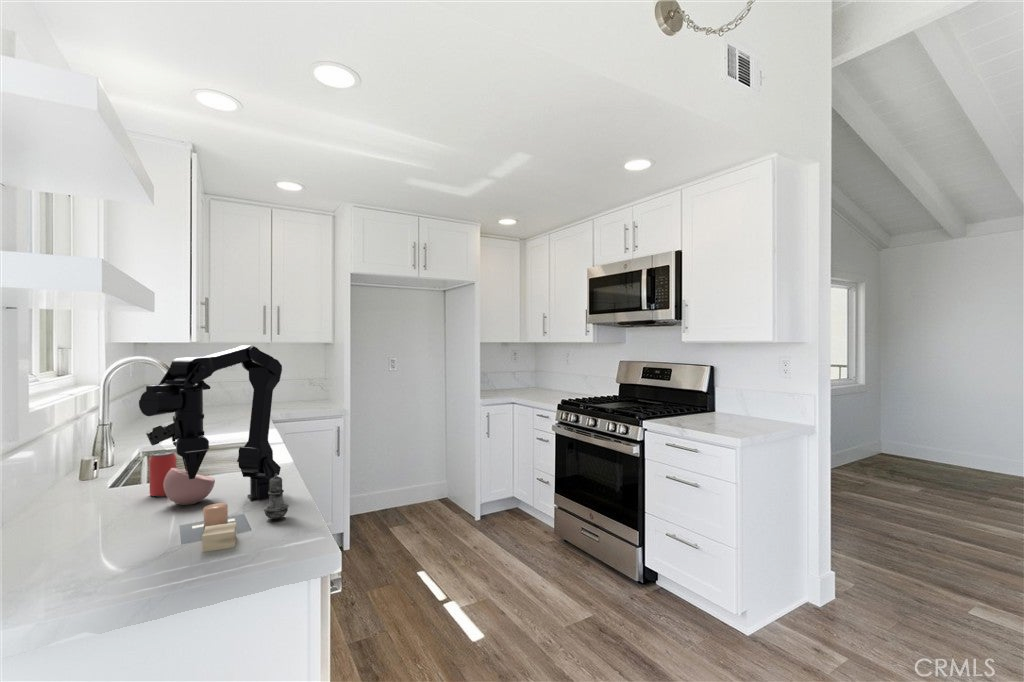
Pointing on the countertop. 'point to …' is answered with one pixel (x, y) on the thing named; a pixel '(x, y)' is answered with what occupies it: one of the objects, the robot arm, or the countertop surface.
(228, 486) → the countertop surface
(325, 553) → the countertop surface
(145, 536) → the countertop surface
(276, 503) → the salt shaker
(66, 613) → the countertop surface
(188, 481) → the mortar and pestle
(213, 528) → the maple block
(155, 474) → the beer can
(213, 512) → the terracotta cylinder
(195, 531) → the letter mat
